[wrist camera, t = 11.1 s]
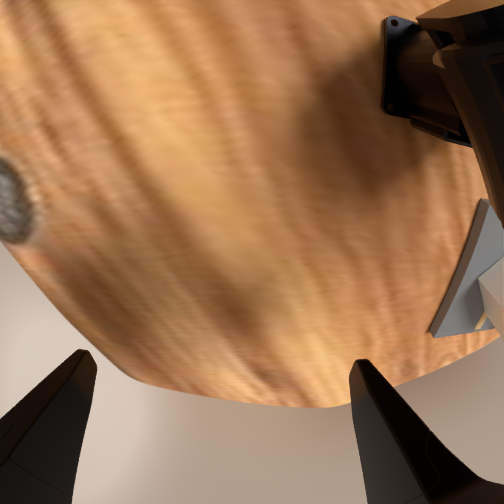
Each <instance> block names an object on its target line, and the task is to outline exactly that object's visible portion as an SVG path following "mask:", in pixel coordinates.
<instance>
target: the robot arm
mask: <svg viewBox="0 0 504 504" xmlns="http://www.w3.org/2000/svg"><path fill="white" fill-rule="evenodd" d="M416 19H417V21H418V22H413V21H410V20H407V19H403V18H400V17H397V16H389V17H387V18H386V19H385V22H384V64H383V82H382V96H381V109H382V111H383V112H384V113H386V114H389V115H393V116H398V117H403V118H408V119H411V121H410V124H411V125H412V127H414V128H416V129H419V130H421V131H423V132H426V133H428V134H431V135H433V136H435V137H437V138H440V139H442V140H444V141H447V142H451V143H455V144H459V145H463V146H467V147H470V148H473V150H474V152H475V155H476V158H477V161H478V164H479V167H480V170H481V173H482V176H483V179H484V183H485V186H486V190H487V193H488V197H489V200H490V204H491V206H492V208H493V210H494V212H495V213H496V215H497V217H498V219H499V220H500V221H501V225H502V227H503V229H504V0H451V1H449V2H446V3H444V4H442V5H440V6H438V7H436V8H434V9H432V10H430V11H428V12H426V13H424V14H422V15H420V16H418V17H416ZM391 20H392V21H394V22H395V24H396V26H395V27H394V26H393V25H392V24H391ZM389 103H390V104H391V105H392V108H391V109H390V110H388V109H387V104H389ZM96 374H97V365H96V363H95V361H94V359H93V357H92V355H91V354H90V352H89V351H88V350H82V349H78V350H76V351H75V352H74V353H73V354H72V355H71V356H69V357H68V358H67V359H66V360H65V361H64V362H63V363H62V364H61V365H59V366H58V367H57V368H56V369H55V370H54V371H53V372H51V373H50V374H49V375H48V376H47V377H46V378H45V379H43V380H42V381H41V382H40V383H39V384H38V385H37V386H36V387H35V388H34V389H32V390H31V391H30V392H29V393H28V394H27V395H26V396H25V397H24V398H23V399H22V400H20V401H19V402H18V403H17V404H16V405H15V406H14V407H13V408H12V409H11V410H10V411H9V412H7V413H6V414H5V415H4V416H3V417H2V418H1V419H0V504H72V496H73V489H74V483H75V478H76V472H77V467H78V462H79V457H80V452H81V447H82V443H83V438H84V434H85V429H86V425H87V421H88V417H89V413H90V409H91V404H92V398H93V392H94V386H95V380H96ZM349 385H350V395H351V405H352V417H353V424H354V428H355V434H356V439H357V444H358V449H359V455H360V460H361V465H362V471H363V477H364V483H365V489H366V496H367V502H368V504H504V485H503V484H499V483H494V482H490V481H487V480H485V479H482V478H481V477H479V476H477V475H476V474H475V473H474V472H473V471H471V470H470V469H469V468H468V467H467V466H466V465H465V464H464V463H463V462H461V461H460V460H459V459H458V458H457V457H456V456H455V455H454V454H452V452H451V451H450V450H449V449H448V448H446V447H445V446H444V444H443V443H442V442H441V441H440V440H439V439H438V438H437V437H436V436H435V435H434V433H433V432H432V431H429V430H430V429H429V428H428V427H427V425H426V424H425V423H424V422H423V421H422V420H421V419H420V417H419V416H418V415H417V414H416V413H415V412H414V411H413V410H412V408H411V407H410V406H409V405H408V404H407V403H406V402H405V400H404V399H403V398H402V397H401V396H400V395H399V393H398V392H397V391H396V390H395V389H394V388H393V387H392V386H391V384H390V383H389V382H388V381H387V380H386V379H385V378H384V377H383V375H382V374H381V373H380V372H379V371H378V370H377V369H376V368H375V366H374V365H373V364H372V363H371V362H370V361H369V360H368V359H357V360H356V361H355V362H354V364H353V367H352V369H351V372H350V374H349Z"/></svg>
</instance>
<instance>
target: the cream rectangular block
mask: <svg viewBox="0 0 504 504" xmlns="http://www.w3.org/2000/svg"><path fill="white" fill-rule="evenodd" d="M478 281H479V286H480V290H481V295H482V300H483V305H484V310H485V314H486V315H487V317H488V318H489V320H490V321H491V322H492V324H493V325H494V327H495V328H496V330H497V331H498V333H499V334H500V336H501V337H502V339H503V340H504V256H503V257H502V258H501V259H500V260H499V261H498V262H496V263H495V264H494V265H493V266H492V267H490V268H489V269H488V270H487V271H486V272H484V273H483V274H482V275H481V276H480V277H478Z"/></svg>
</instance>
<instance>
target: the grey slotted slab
mask: <svg viewBox="0 0 504 504" xmlns="http://www.w3.org/2000/svg"><path fill="white" fill-rule="evenodd" d="M503 256H504V229H503V227H502V225H501V221H500V220H499V219H498V217H497V215H496V213H495V212H494V210H493V208H492V206H491V204H490V200H487V199H481V200H480V203H479V207H478V210H477V214H476V217H475V220H474V223H473V226H472V230H471V233H470V236H469V238H468V241H467V244H466V247H465V250H464V252H463V255H462V258H461V260H460V263H459V266H458V268H457V271H456V273H455V275H454V278H453V280H452V283H451V285H450V287H449V290H448V292H447V294H446V296H445V298H444V301H443V303H442V305H441V307H440V309H439V311H438V313H437V315H436V317H435V319H434V321H433V323H432V325H431V327H430V329H429V330H430V332H431V334H432V336H433V338H439V337H446V336H453V335H459V334H466V333H472V332H477V331H483V330H488V329H493V328H495V327H494V325H493V324H492V322H491V321H490V320H489V318H488V317H487V315H486V314H485V310H484V305H483V300H482V295H481V290H480V286H479V281H478V277H480V276H481V275H482V274H483V273H484V272H486V271H487V270H488V269H489V268H490V267H492V266H493V265H494V264H495V263H496V262H498V261H499V260H500V259H501V258H502V257H503Z"/></svg>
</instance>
